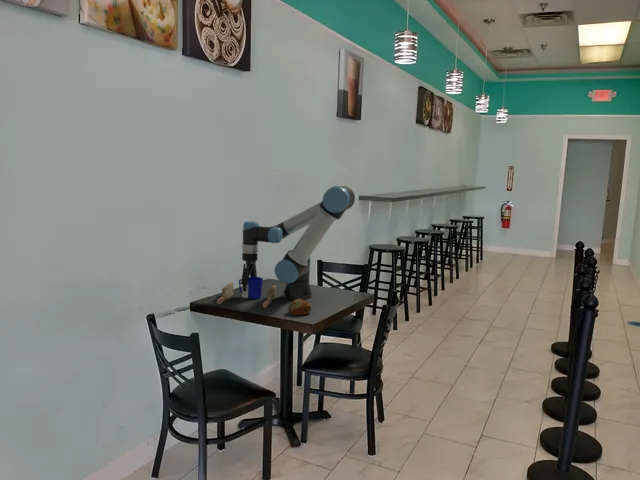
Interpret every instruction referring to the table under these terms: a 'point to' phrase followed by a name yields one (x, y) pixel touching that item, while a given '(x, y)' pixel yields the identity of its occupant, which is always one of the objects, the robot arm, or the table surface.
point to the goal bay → (223, 300)
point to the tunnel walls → (228, 291)
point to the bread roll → (299, 307)
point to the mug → (253, 287)
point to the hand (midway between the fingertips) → (248, 294)
